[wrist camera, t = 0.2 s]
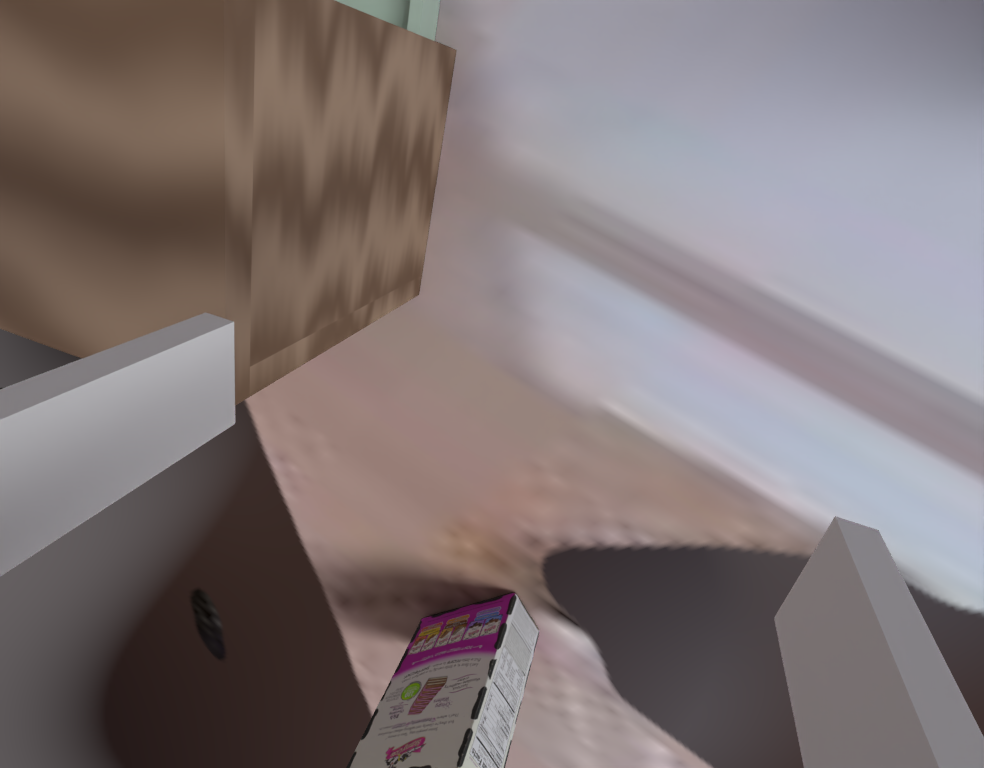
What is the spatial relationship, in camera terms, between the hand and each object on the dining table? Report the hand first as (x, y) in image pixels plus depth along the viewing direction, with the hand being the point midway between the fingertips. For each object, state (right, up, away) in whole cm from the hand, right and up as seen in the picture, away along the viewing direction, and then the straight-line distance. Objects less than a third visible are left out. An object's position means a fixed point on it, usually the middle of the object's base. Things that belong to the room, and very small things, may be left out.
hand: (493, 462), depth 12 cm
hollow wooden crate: (-12, +18, +28) cm, 35 cm away
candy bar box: (-1, -21, +41) cm, 46 cm away
